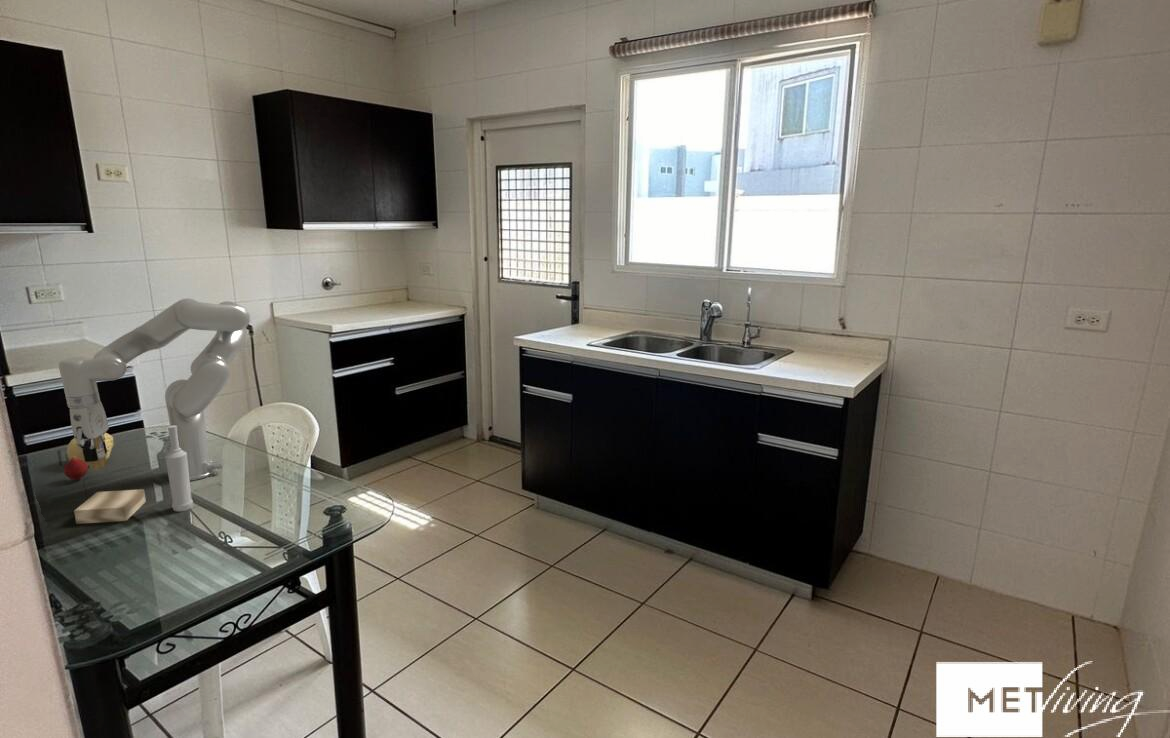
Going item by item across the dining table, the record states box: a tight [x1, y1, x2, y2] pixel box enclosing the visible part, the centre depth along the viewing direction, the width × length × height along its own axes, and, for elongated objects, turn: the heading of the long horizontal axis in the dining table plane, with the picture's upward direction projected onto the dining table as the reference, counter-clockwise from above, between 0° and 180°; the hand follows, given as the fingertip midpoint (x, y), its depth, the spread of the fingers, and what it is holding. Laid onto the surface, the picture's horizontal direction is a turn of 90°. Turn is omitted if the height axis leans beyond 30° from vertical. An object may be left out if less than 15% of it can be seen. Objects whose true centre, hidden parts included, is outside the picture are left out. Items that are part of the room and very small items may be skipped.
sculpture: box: [66, 432, 114, 467], centre depth 208 cm, size 12×12×11 cm
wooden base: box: [73, 488, 147, 525], centre depth 176 cm, size 12×12×4 cm
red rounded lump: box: [63, 456, 89, 481], centre depth 195 cm, size 6×6×8 cm
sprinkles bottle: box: [84, 435, 109, 471], centre depth 184 cm, size 5×5×13 cm
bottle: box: [164, 425, 194, 513], centre depth 177 cm, size 5×5×25 cm
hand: (96, 457), depth 185 cm, fingers closed on sprinkles bottle, 4 cm apart
